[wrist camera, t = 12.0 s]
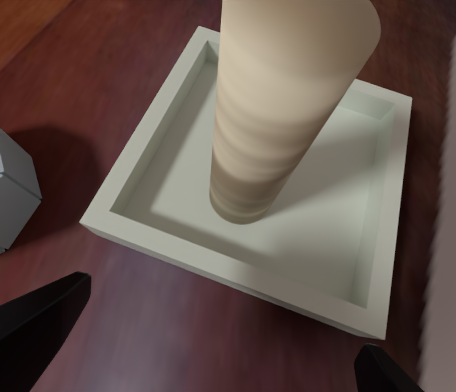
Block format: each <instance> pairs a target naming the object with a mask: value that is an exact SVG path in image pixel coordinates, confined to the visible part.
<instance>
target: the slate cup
mask: <svg viewBox="0 0 456 392" xmlns="http://www.w3.org/2000/svg"><path fill="white" fill-rule="evenodd" d="M39 199H42V196H41V192H40V188H39V184H38V180H37V176H36V172H35V169H34V165H33V161H32V157H31V156H30V155H29V154H28V153H27V152H26V151H25V150H23V149H22V148H21V147H20V146H19V145H18V144H17V143H16V142H15V141H14V140H13V139H11V138H10V137H9V136H8V135H7V134H6V133H5V132H4V131H3V130H2V129H1V128H0V254H1V253H3V252H5V248H6V249H9V248H10V246H11V245H12V243H13V242H14V240H15V239H16V237H17V236H18V235H19V233H20V232H21V230H22V229H23V227H24V226H25V224H26V223H27V222H28V220H29V219H30V217H31V216H32V214H33V213H34V211H35V210H36V209H37V207H38V206H39V204H40V203H41V201H40V200H39Z"/></svg>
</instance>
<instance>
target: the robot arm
mask: <svg viewBox="0 0 456 392" xmlns="http://www.w3.org/2000/svg"><path fill="white" fill-rule="evenodd" d="M90 294H91V275H90V274H89V273H85V272H80V271H77V272H74V273H72V274H70V275H68V276H65V277H63V278H61V279H59V280H56V281H54V282H52V283H50V284H47V285H45V286H43V287H41V288H38V289H36V290H34V291H32V292H29V293H27V294H25V295H23V296H20V297H18V298H16V299H14V300H11V301H9V302H7V303H5V304H2V305H0V392H30V390H31V389H32V387H33V386H34V385H35V383H36V382H37V380H38V379H39V378H40V376H41V375H42V374H43V372H44V371H45V369H46V368H47V367H48V365H49V364H50V362H51V361H52V360H53V358H54V357H55V355H56V354H57V353H58V351H59V350H60V348H61V347H62V345H63V343H64V342H65V340H66V339H67V337H68V335H69V333H70V332H71V330H72V328H73V326H74V325H75V323H76V321H77V320H78V318H79V316H80V314H81V313H82V311H83V309H84V308H85V306H86V304H87V302H88V300H89V298H90ZM354 369H355V376H356V382H357V388H358V392H424V391H423V390H422V389H421V388H420V387H419V386H418V385H417V384H416V383H415V382H414V381H413V380H412V379H411V378H410V377H409V376H408V375H407V374H406V372H405V371H404V370H403V369H402V368H401V367H400V366H399V365H398V364H397V363H396V362H395V361H394V360H393V359H392V358H391V357H390V356H389V355H388V354H387V353H386V352H385V351H384V350H383V349H382V348H381V347H380V346H378V345H375V344H371V343H365V344H364V345H363V347H362V348H361V350H360V352H359V354H358V355H357V357H356V359H355V362H354Z"/></svg>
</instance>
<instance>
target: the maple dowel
mask: <svg viewBox="0 0 456 392" xmlns="http://www.w3.org/2000/svg"><path fill="white" fill-rule="evenodd" d="M380 32H381V28H380V21H379V17H378V14H377V12H376V10H375V8H374V7H373V5H372V3H371V2H370V1H369V0H223V4H222V18H221V32H220V46H219V61H218V75H217V89H216V104H215V118H214V132H213V146H212V161H211V175H210V189H209V198H210V203H211V205H212V207H213V209H214V211H215V212H216V213H217V214H218V215H219V216H220V217H221V218H222V219H224V220H226V221H228V222H230V223H233V224H239V225H245V224H251V223H254V222H256V221H258V220H259V219H261V218H262V217H263V216H264V215H265V214H266V213H267V211H268V210H269V208H270V207H271V205H272V204H273V202H274V200H275V199H276V197H277V196H278V194H279V193H280V191H281V190H282V188H283V187H284V185H285V184H286V182H287V181H288V179H289V178H290V176H291V175H292V173H293V172H294V170H295V169H296V167H297V166H298V164H299V163H300V161H301V160H302V158H303V157H304V155H305V154H306V152H307V151H308V149H309V148H310V146H311V145H312V143H313V142H314V140H315V138H316V137H317V135H318V134H319V132H320V131H321V129H322V128H323V126H324V125H325V123H326V122H327V120H328V119H329V117H330V116H331V114H332V113H333V111H334V110H335V108H336V107H337V105H338V104H339V102H340V101H341V99H342V98H343V96H344V95H345V93H346V92H347V90H348V89H349V87H350V86H351V84H352V83H353V81H354V80H355V78H356V77H357V75H358V73H359V72H360V70H361V69H362V67H363V66H364V64H365V63H366V61H367V60H368V58H369V57H370V55H371V54H372V52H373V51H374V49H375V47H376V46H377V44H378V41H379V38H380Z"/></svg>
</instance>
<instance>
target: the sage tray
mask: <svg viewBox="0 0 456 392" xmlns="http://www.w3.org/2000/svg"><path fill="white" fill-rule="evenodd" d="M219 46H220V33H219V32H216V31H213V30H210V29H207V28H204V27H201V26H198V28H197V30H196V31H195V33H194V35H193V36H192V38H191V40H190V41H189V43H188V44H187V46H186V48H185V49H184V51H183V53H182V54H181V56H180V58H179V59H178V61H177V63H176V64H175V66H174V67H173V69H172V71H171V72H170V74H169V76H168V77H167V79H166V81H165V82H164V84H163V86H162V87H161V89H160V90H159V92H158V94H157V95H156V97H155V99H154V100H153V102H152V104H151V105H150V107H149V108H148V110H147V112H146V113H145V115H144V117H143V118H142V120H141V122H140V123H139V125H138V127H137V128H136V130H135V131H134V133H133V135H132V136H131V138H130V140H129V141H128V143H127V145H126V146H125V148H124V149H123V151H122V153H121V154H120V156H119V158H118V159H117V161H116V163H115V164H114V166H113V168H112V169H111V171H110V172H109V174H108V176H107V177H106V179H105V181H104V182H103V184H102V186H101V187H100V189H99V191H98V192H97V194H96V195H95V197H94V199H93V200H92V202H91V204H90V205H89V207H88V209H87V210H86V212H85V213H84V215H83V217H82V218H81V220H80V222H79V223H81V224H82V225H83V226H85V227H86V228H88V229H89V230H90V231H92V232H93V233H94V234H96V235H98V236H101V237H103V238H106V239H108V240H111V241H113V242H116V243H119V244H121V245H124V246H126V247H129V248H132V249H134V250H137V251H139V252H142V253H145V254H147V255H150V256H152V257H155V258H157V259H160V260H163V261H165V262H168V263H170V264H173V265H176V266H178V267H181V268H183V269H186V270H189V271H191V272H194V273H196V274H199V275H201V276H204V277H207V278H209V279H212V280H214V281H217V282H220V283H222V284H225V285H227V286H230V287H233V288H235V289H238V290H240V291H243V292H245V293H248V294H251V295H253V296H256V297H258V298H261V299H264V300H266V301H269V302H271V303H274V304H277V305H279V306H282V307H284V308H287V309H289V310H292V311H295V312H297V313H300V314H302V315H305V316H308V317H310V318H313V319H315V320H318V321H320V322H323V323H326V324H328V325H331V326H333V327H336V328H339V329H341V330H344V331H346V332H349V333H352V334H354V335H357V336H362V337H368V338H374V339H381V340H385V335H386V326H387V317H388V308H389V299H390V291H391V282H392V273H393V264H394V255H395V246H396V237H397V228H398V219H399V210H400V202H401V193H402V184H403V175H404V166H405V157H406V148H407V139H408V130H409V121H410V113H411V104H412V98H411V97H408V96H405V95H402V94H399V93H396V92H393V91H390V90H387V89H384V88H382V87H379V86H376V85H373V84H370V83H367V82H364V81H361V80H358V79H355V80H354V81H353V83H352V84H351V86H350V87H349V89H348V90H347V92H346V93H345V95H344V96H343V98H342V99H341V101H340V102H339V104H338V105H337V107H336V108H335V110H334V111H333V113H332V114H331V116H330V117H329V119H328V120H327V122H326V123H325V125H324V126H323V128H322V129H321V131H320V132H319V134H318V135H317V137H316V138H315V140H314V142H313V143H312V145H311V146H310V148H309V149H308V151H307V152H306V154H305V155H304V157H303V158H302V160H301V161H300V163H299V164H298V166H297V167H296V169H295V170H294V172H293V173H292V175H291V176H290V178H289V179H288V181H287V182H286V184H285V185H284V187H283V188H282V190H281V191H280V193H279V194H278V196H277V197H276V199H275V200H274V202H273V204H272V205H271V207H270V208H269V210H268V211H267V213H266V214H265V215H264V216H263V217H262V218H261V219H259V220H258V221H256V222H254V223H251V224H245V225H239V224H233V223H230V222H228V221H226V220H224V219H222V218H221V217H220V216H219V215H218V214H217V213H216V212H215V211H214V209H213V207H212V205H211V203H210V198H209V189H210V175H211V161H212V146H213V132H214V118H215V104H216V89H217V75H218V61H219Z"/></svg>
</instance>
